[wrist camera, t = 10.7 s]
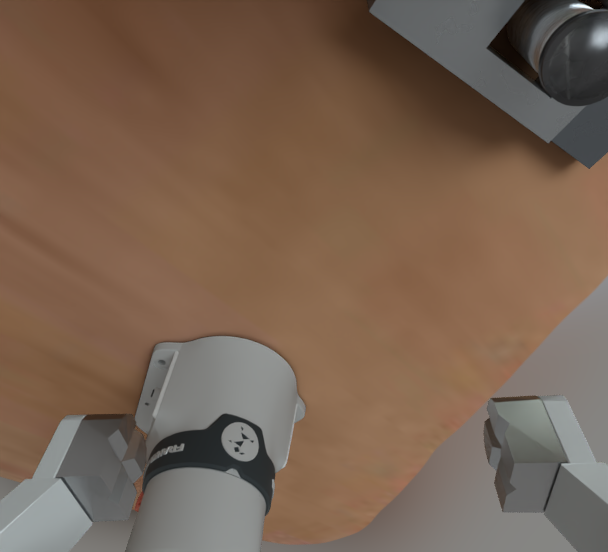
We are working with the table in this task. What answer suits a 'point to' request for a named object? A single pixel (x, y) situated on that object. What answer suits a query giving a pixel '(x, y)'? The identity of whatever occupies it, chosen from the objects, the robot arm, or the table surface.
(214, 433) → the robot arm
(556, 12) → the pin
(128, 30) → the table surface
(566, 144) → the square-holed grey plate
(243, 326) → the table surface
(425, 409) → the table surface
